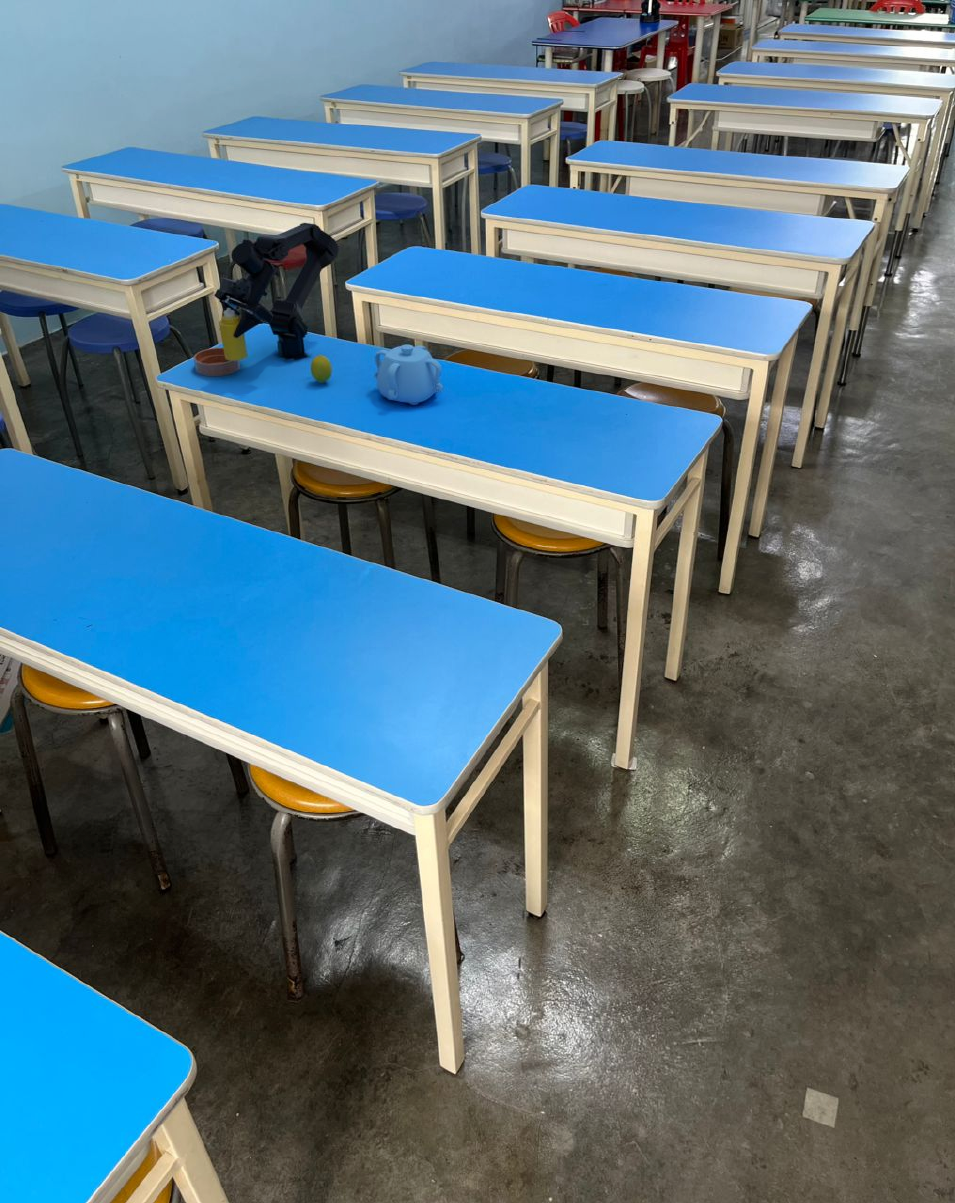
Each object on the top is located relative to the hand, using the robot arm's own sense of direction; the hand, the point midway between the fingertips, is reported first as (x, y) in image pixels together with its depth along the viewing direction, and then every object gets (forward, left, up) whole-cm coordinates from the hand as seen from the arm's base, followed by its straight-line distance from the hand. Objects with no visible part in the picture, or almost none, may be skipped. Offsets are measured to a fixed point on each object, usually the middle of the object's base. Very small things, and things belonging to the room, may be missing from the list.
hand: (227, 334), depth 247 cm
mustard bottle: (-1, 0, -6) cm, 7 cm away
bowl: (+1, -9, -13) cm, 16 cm away
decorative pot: (-34, +35, -13) cm, 50 cm away
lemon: (-19, +15, -13) cm, 27 cm away
